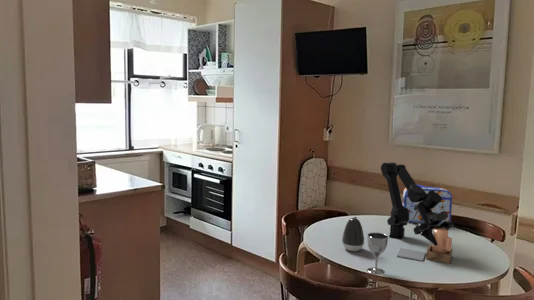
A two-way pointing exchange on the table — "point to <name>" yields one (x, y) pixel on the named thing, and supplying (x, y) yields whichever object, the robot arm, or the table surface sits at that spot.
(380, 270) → the wine glass
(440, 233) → the tan dome with tab
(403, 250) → the mat
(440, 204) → the lunch box
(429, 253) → the holder
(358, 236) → the dark grey egg shape
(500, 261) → the table surface
